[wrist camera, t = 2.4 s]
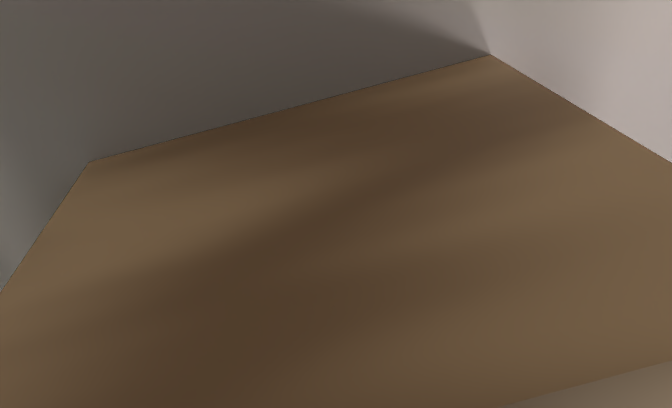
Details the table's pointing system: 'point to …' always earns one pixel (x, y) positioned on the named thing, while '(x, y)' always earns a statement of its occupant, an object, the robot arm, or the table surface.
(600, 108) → the table surface
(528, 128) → the walnut block
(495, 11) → the table surface
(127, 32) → the table surface
